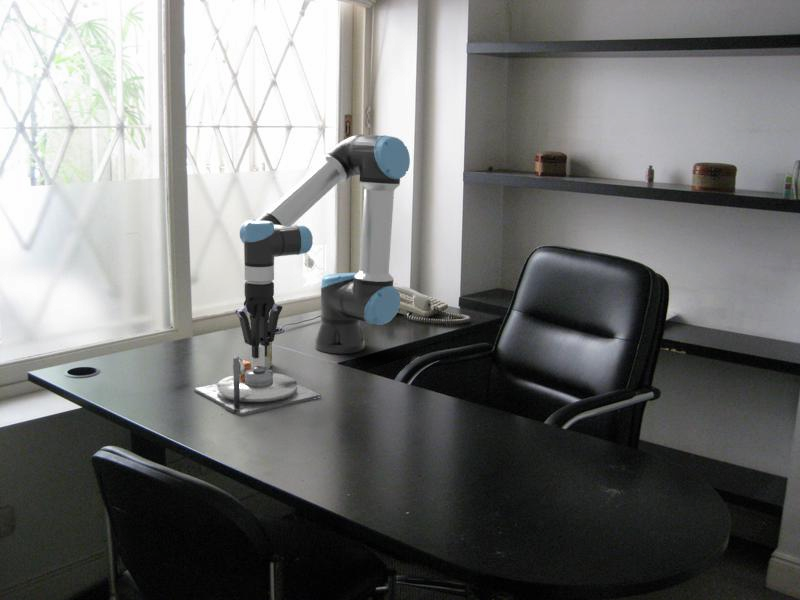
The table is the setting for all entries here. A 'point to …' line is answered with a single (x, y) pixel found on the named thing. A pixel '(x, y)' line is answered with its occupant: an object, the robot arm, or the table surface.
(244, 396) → the platter
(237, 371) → the post
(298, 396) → the turntable base
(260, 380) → the cover
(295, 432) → the table surface
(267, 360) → the skincare box
